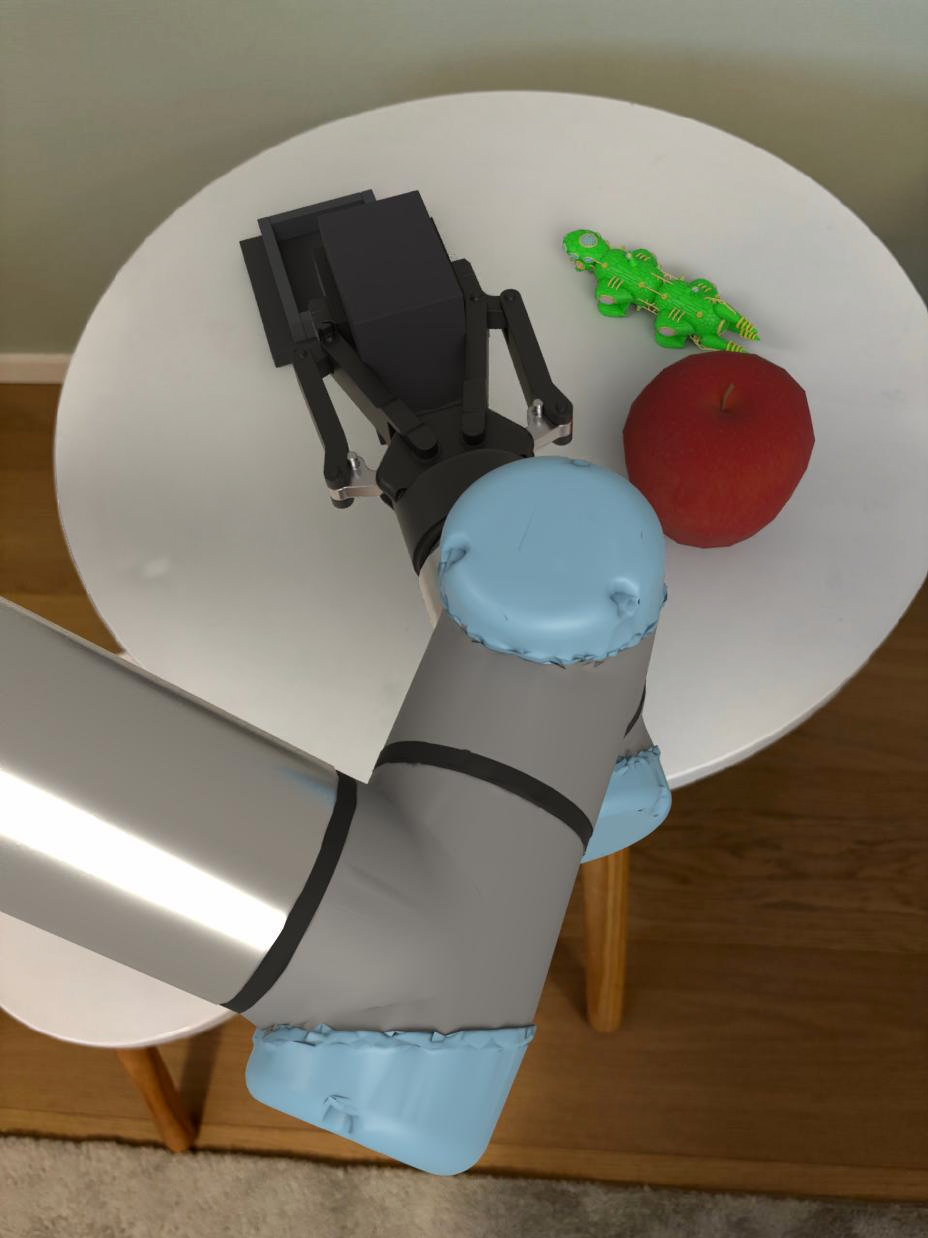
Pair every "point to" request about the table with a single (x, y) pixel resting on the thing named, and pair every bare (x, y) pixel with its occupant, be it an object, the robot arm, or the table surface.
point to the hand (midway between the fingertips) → (375, 251)
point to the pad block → (399, 297)
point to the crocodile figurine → (656, 294)
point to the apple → (718, 446)
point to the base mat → (290, 272)
